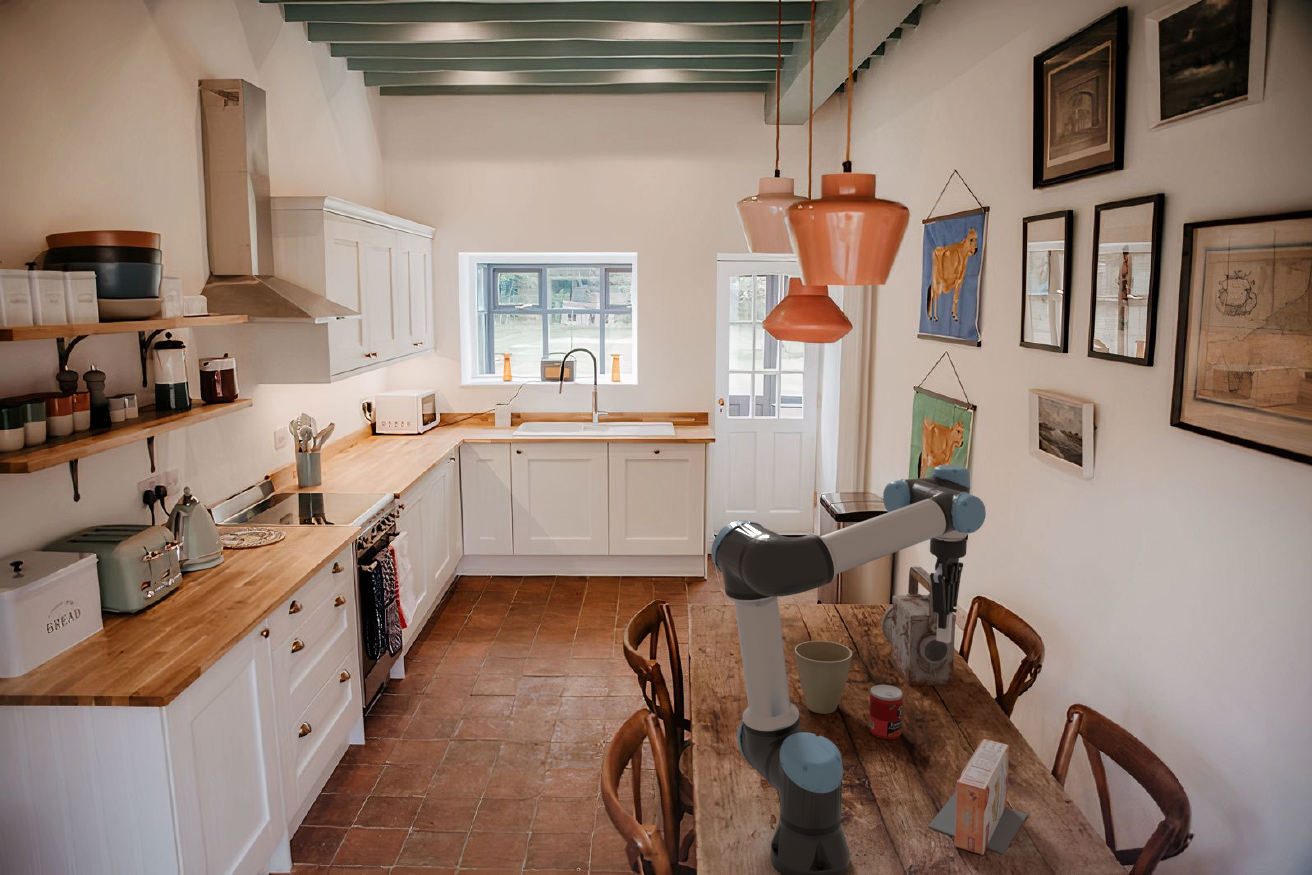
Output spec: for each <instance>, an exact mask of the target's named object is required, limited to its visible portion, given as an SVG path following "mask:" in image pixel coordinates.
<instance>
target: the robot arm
mask: <svg viewBox="0 0 1312 875" xmlns="http://www.w3.org/2000/svg"><path fill="white" fill-rule="evenodd" d="M970 476H971V475H970V471H969V469H968V468H966V467H965V466H960V465H956V464H955V465H954V464H940V465H936V466H934V467H933V473H932V475H931V476H928V477H922V478H921V477H920V478H910V479H908V478H907V479H904V478H901V479H898V480H894V481H890V482H888V483H887V484H886V486H885V487H884V489H883V492H882V493H883V494H882V495H883V497H882V502H883V505H884V508H885V510H886V511H887V512H886V513H883V514H880V515H878V516H875V517H871V518H868V519H866V520H863V521H860V522H858V523H855V524H851V525H848V526H846V527H843V528H840V529H837V530H835V531H832V532H829V533H827V534H823V535H821V536H820V535H819V534H817V533H809V534H807V535H803V536H798V537H797V536H795V537H788V536H783V535H780V534H779V533H777V532H775V531H772V530H770V529H767V528H766V527H764V526H763V525H761V524H760V523H758V522H754V521H753V522H752V521H749V520H742V519H741V520H740V519H739V520H735V521H732V522H730V523H728V524H726V525H724V527H722V528H721V529H720V531H719V532H718V533H717V535H716V536H715V537H714V539H713V541H712V544H711V550H710V551H711V560H712V562H713V563H714V565H715V567H716V569H717V570H718V571H719V572H721V573H722V577H723V579H722V580H723V586H724V591H725V596H726V597H727V598H728V599H730V600H731V601H733V602H734V611H735V617H736V618H735V619H736V623H737V630H738V632H737V633H738V638H739V644H740V645H739V646H740V652H741V653H740V654H741V660H742V667H743V668H742V669H743V677H744V683H745V692H746V698H747V705H748V706H747V708H745V709H744V710H743V712H742V719H741V724H739V725H738V729H737V732H736V733H737V734H736V741H737V745H738V746H737V747H738V748H739V751H740V753H741V755H742V757H743V759H744V760H745V761H747V764H749V765H750V766H751V767H752V768H753V769H755V771H756V772H758V773H759V774H760V776H761V777H763V778H764V780H766V781H767V783H769V784H770V785H771V786H772V787H773V789H775V790H776V791H777V792H778V794H779V820H778V823H777V826H776V828H775V831H774V834H773V836H772V839H771V841H770V842H771V843H770V861H771V864H772V866H773V867H774V868H775V869H776V870H777V871H778V872H779V873H780V874H781V875H845V874H846V873H847V872H848V870H849V868H850V857H851V856H850V848H849V845H848V842H847V840H846V836H845V833H844V830H843V827H842V804H843V803H842V802H843V801H842V800H843V799H842V796H843V777H844V768H843V760H842V758H843V757H842V754H841V752H840V750H839V748H838V747H837V746H836V744H835V743H834V742H833V741H831V740H830V739H829V738H826V737H825V736H823V735H819V736H817V734H816V733H813V732H803V731H802V725H801V723H802V722H801V717H800V710H799V709H798V707H797V706H796V705H795V704H794V703H792V702H791V699H790V698H791V696H790V689H789V682H788V681H789V680H788V674H787V673H788V672H787V665H786V657H785V648H784V647H785V646H784V641H783V634H782V633H783V632H782V624H781V618H780V610H779V609H780V607H779V599H778V598H779V597H787V596H788V597H789V596H792V595H797V594H801V593H805V592H809V591H811V590H815V589H817V588H820V587H823V586H825V585H828V584H830V583H833V581H834V580H835V578H836V575H839V574H841V573H843V572H846V571H850V570H851V569H854V568H857V567H860V566H863V565H865V564H868V563H870V562H872V561H873V562H874V561H876V560H878V559H881V558H884V557H886V556H889V555H891V554H894V553H896V552H899V551H902V550H905V549H907V548H910V547H912V546H915V545H918V544H920V543H923V542H926V541H928V540H929V552H930V554H931V555H933V556H935V557H936V562H935V565H934V572H930V573H929V575H930V579H931V582H932V598H933V612H936V613H938V615H937V636H936V641H940V642H944V643H950V642H951V629H952V613H951V612H953V613H954V614H955V613H957V611H958V609H957V608H956V607H957V606H958V598H959V592H960V583H961V577H962V573H963V569H964V568H963V567H964V563H963V562H961V561H960V559H961V558H964V557H965V556H966V555H967V549H968V547H967V544H968V543H967V542H968V540H967V539H966V537H967V535H968V534H972V533H975V532H977V531H979V529H981V527H982V526H983V524H984V522H985V520H986V516H987V513H986V510H987V509H986V507H985V506H986V505H985V504H984V502H983V500H982V499H980V497H978V496H975V495H973V494H971V492H970V491H971V479H970V478H971V477H970Z"/></svg>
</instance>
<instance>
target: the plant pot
mask: <svg viewBox="0 0 1312 875" xmlns="http://www.w3.org/2000/svg"><path fill="white" fill-rule="evenodd" d="M794 652H795V653H794V654H795V661H796V662H795V663H796V669H797V675H798V679H799V684H800V687H801V690H802V693H803V697H804V700H805V703H806V705H807V708H808V710H810V712H813V713H817V714H824V715H827V714H832V713H834V712H836V710H837V708H838V705H839V703H840V701H841V698H842V696H843V694H844V690H845V689H846V688H845V687H846V684H847V680H848V676H849V673H850V668H851V664H852V658H853V650H851V649H850V648H849V647H847V646H846V645H844V644H842V643H838V642H833V641H828V640H827V641H825V640H810V641H805V642H801V643H798V644H797V645H796V646H795V647H794Z"/></svg>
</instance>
